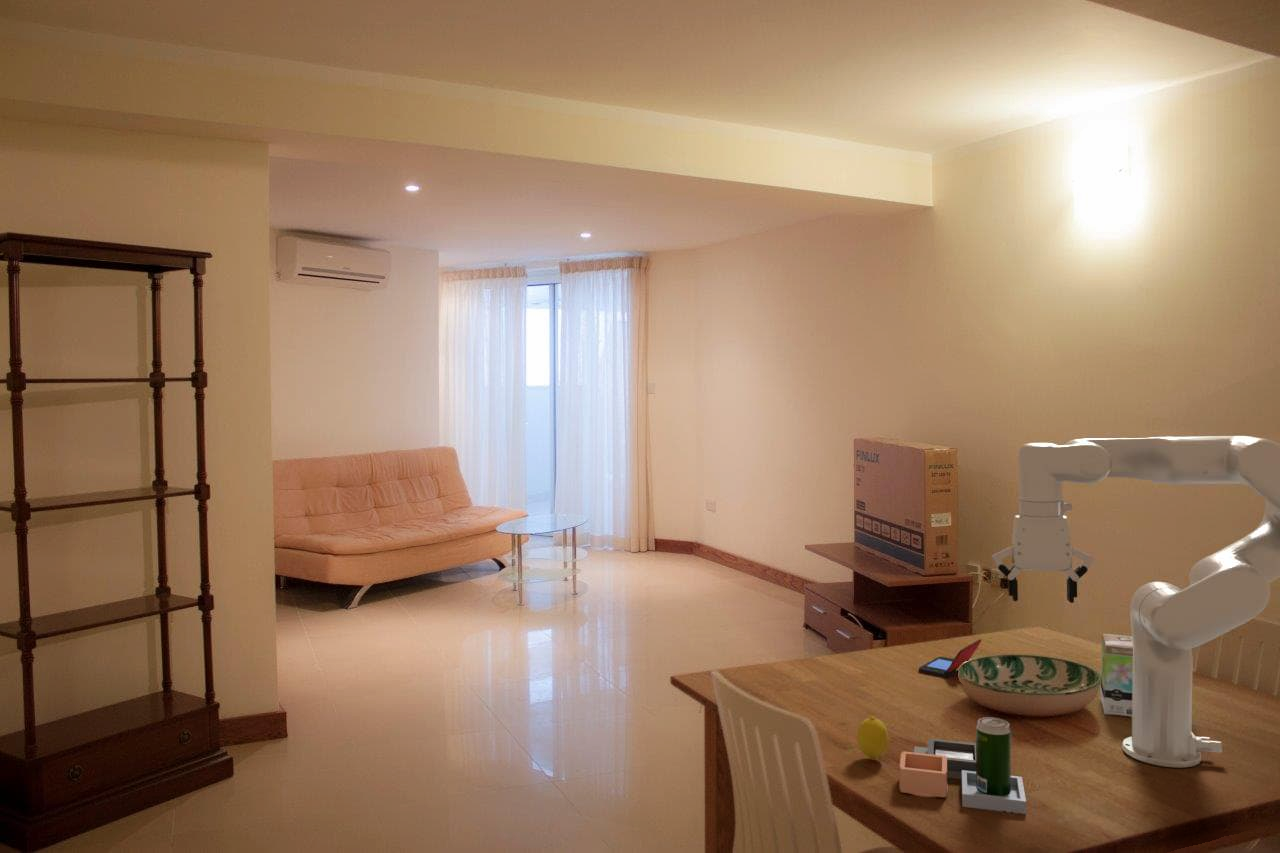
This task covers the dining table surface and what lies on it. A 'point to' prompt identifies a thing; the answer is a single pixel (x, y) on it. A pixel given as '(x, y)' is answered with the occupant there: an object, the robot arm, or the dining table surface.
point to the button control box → (953, 764)
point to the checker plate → (954, 753)
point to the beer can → (993, 757)
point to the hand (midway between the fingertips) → (1042, 600)
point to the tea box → (1116, 674)
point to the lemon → (872, 737)
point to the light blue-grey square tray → (990, 802)
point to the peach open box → (923, 774)
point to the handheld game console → (949, 662)
